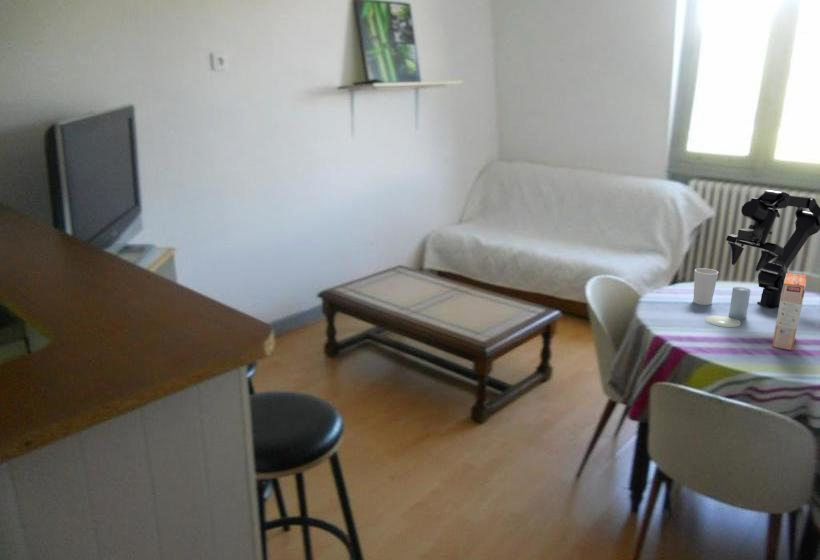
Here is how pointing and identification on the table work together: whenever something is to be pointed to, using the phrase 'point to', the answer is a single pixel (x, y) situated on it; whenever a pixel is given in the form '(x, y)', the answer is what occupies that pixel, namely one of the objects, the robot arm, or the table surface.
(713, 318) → the mat
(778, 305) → the robot arm
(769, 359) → the table surface
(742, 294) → the grey cylinder
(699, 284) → the cup
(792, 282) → the cracker box
